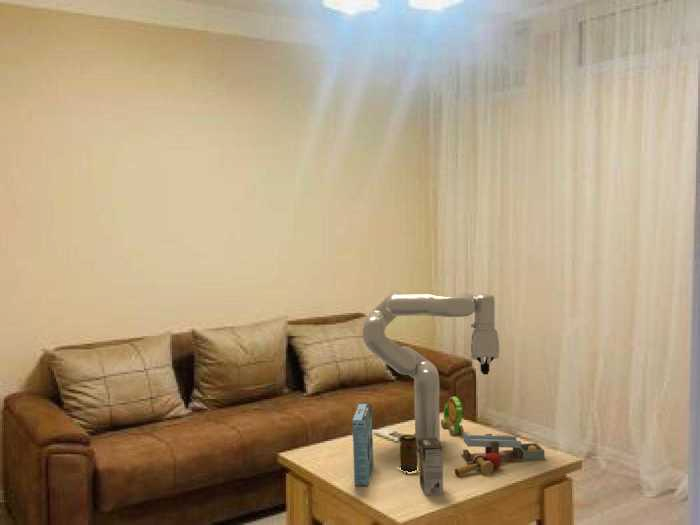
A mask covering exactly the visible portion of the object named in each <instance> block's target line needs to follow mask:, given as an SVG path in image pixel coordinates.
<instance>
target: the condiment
mask: <svg viewBox="0 0 700 525" xmlns="http://www.w3.org/2000/svg"><path fill="white" fill-rule="evenodd" d="M400 439H401V440H400V445H399V446H400V448H399V452H400V453H399V456H400V460H399V461H400V462H399V463H400V464H399V466H400V467H401V470H403V471H408V472H412V471H415V470H417V467H418V451H417V444H416V437H415V436H414V435H413V434H403V435H402V436H401V437H400ZM418 468H419V470H418V471H420V467H418ZM403 471H401V472H402V473H403V474H405V475H408V473H407V472H406V473H404V472H403ZM418 471H417V473H416V474H419V473H418Z"/></svg>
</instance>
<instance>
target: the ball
mask: <svg viewBox="0 0 700 525" xmlns="http://www.w3.org/2000/svg"><path fill="white" fill-rule="evenodd" d="M530 450H537V448H536V447H535V446H534V445H531V446H529V447H528V451H530Z"/></svg>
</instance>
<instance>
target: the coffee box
mask: <svg viewBox="0 0 700 525" xmlns="http://www.w3.org/2000/svg"><path fill="white" fill-rule="evenodd" d="M443 449H444V447H442V445H441V444H440V442H439V441H438V439H437V438H421V439H419V451H418V452H419V454H418V455H419V460H418V461H419V468H420V473H419V486H420V487H421V489H422V492H423V494H424V495H425V496H432V495H433V496H435V495H434V494H437V495H443V494H444V464H443V463H444V459H443V458H444V453H443V452H444V450H443Z"/></svg>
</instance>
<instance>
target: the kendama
mask: <svg viewBox="0 0 700 525" xmlns="http://www.w3.org/2000/svg"><path fill="white" fill-rule="evenodd" d="M472 462H473V464H470V465H467V464H466V465H464V466H461V467H456V468H454V475H455V476H456V477H457V478H460V477H462V476H464V475H466V474H469V473H471V472H473V471H475V470H477V469H479V468H480V472H481V473H482V474H484V475H490V474H491V473H492V472H493V471H495V470H497V469H499V468H500V466H502V465H501V464H502V463H501V458H500V456H499V455H498V454H496V453H488V454H487V455H486V456H485V458H484V457H483V456H482V455H480V454H478V455H476V456H474V458H473V461H472Z"/></svg>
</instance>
